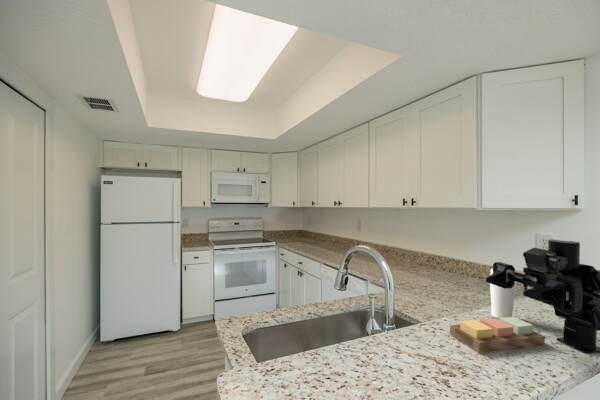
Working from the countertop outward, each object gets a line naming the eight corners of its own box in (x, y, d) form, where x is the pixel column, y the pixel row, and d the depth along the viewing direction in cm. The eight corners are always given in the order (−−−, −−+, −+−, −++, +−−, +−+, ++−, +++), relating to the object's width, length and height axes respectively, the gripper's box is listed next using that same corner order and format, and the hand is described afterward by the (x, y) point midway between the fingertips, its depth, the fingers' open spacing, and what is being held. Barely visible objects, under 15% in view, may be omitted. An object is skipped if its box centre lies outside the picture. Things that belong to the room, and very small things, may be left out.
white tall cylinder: (503, 323, 80) (506, 274, 80) (483, 313, 87) (485, 268, 87) (520, 321, 82) (522, 273, 82) (498, 312, 89) (500, 267, 89)
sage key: (513, 326, 75) (513, 316, 75) (532, 335, 70) (533, 325, 70) (499, 327, 74) (499, 317, 74) (517, 336, 69) (518, 326, 69)
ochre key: (475, 329, 72) (475, 319, 72) (492, 339, 67) (493, 328, 67) (459, 331, 71) (460, 321, 71) (476, 341, 66) (476, 330, 66)
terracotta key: (494, 327, 73) (495, 318, 73) (512, 337, 69) (513, 327, 69) (479, 329, 72) (480, 319, 72) (497, 339, 67) (497, 328, 67)
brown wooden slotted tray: (509, 328, 77) (510, 320, 77) (544, 346, 68) (544, 336, 68) (449, 334, 73) (450, 325, 72) (478, 353, 64) (479, 343, 64)
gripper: (517, 243, 76) (471, 245, 72) (604, 259, 57) (549, 262, 54) (516, 281, 76) (470, 285, 73) (602, 309, 58) (547, 316, 54)
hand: (503, 286), depth 63 cm, fingers open, 9 cm apart
